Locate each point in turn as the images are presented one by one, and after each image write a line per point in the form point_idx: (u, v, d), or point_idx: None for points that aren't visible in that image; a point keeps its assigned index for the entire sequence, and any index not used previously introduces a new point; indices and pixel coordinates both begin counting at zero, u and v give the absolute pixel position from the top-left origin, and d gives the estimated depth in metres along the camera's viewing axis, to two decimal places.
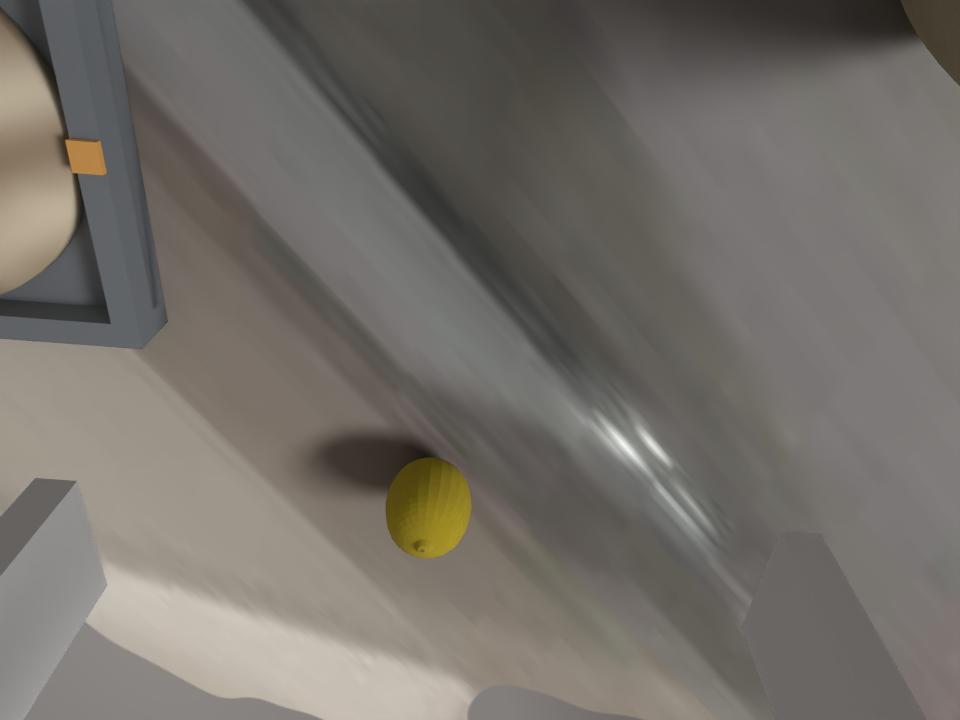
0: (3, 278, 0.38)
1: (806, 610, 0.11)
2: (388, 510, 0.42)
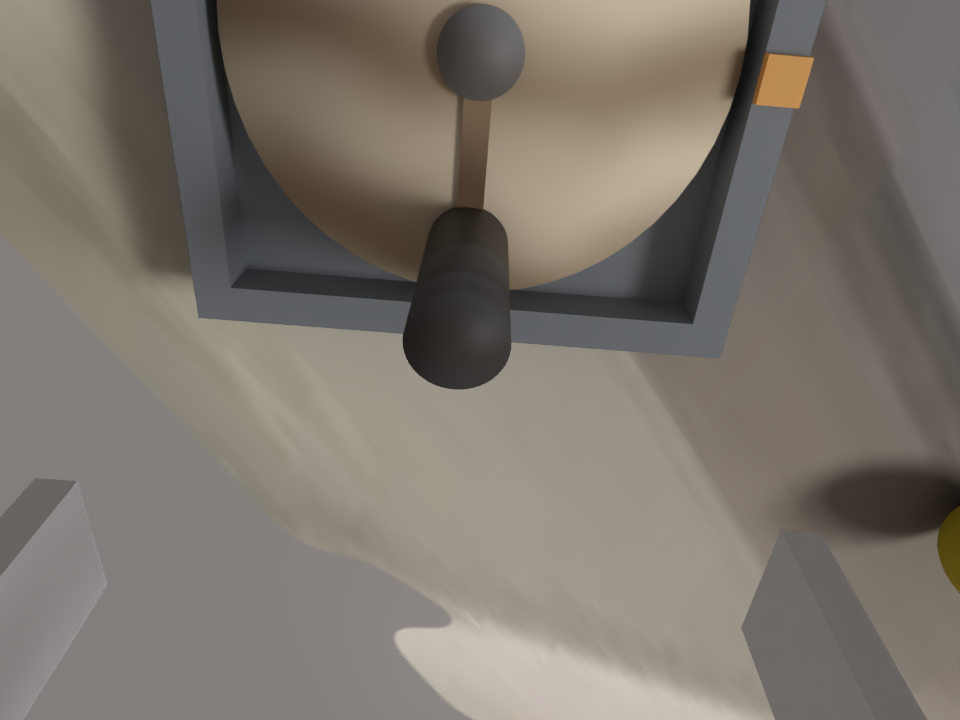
0: (562, 261, 0.27)
1: (806, 611, 0.11)
2: None
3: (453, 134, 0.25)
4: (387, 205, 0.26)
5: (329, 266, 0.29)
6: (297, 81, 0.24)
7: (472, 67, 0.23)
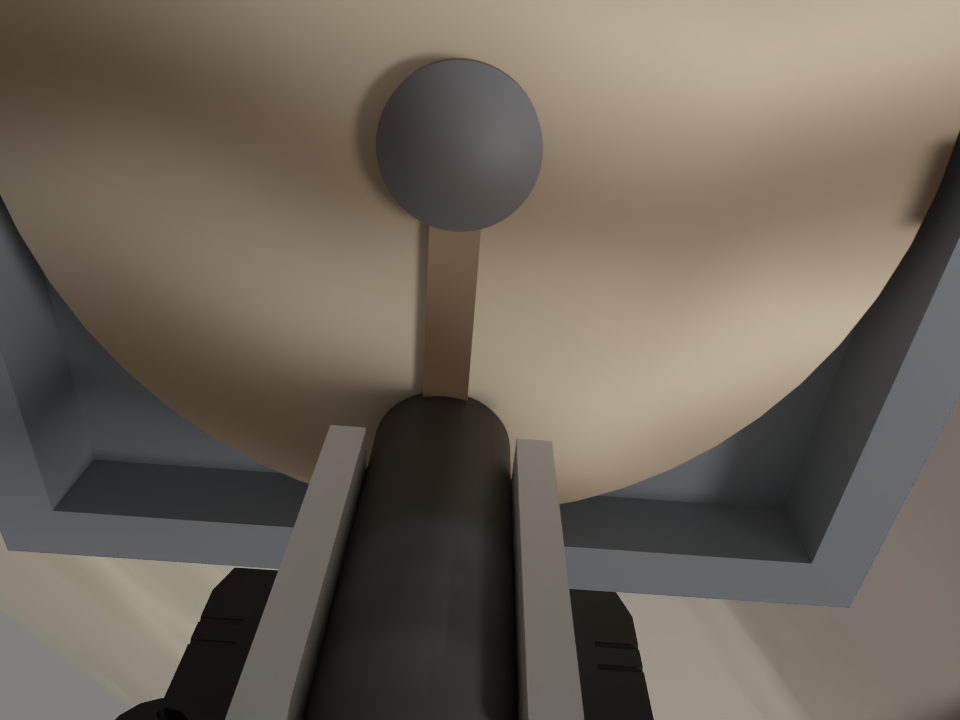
0: (599, 471, 0.16)
1: (516, 499, 0.13)
2: None
3: (413, 282, 0.14)
4: (303, 389, 0.15)
5: (225, 457, 0.18)
6: (125, 194, 0.13)
7: (443, 174, 0.12)
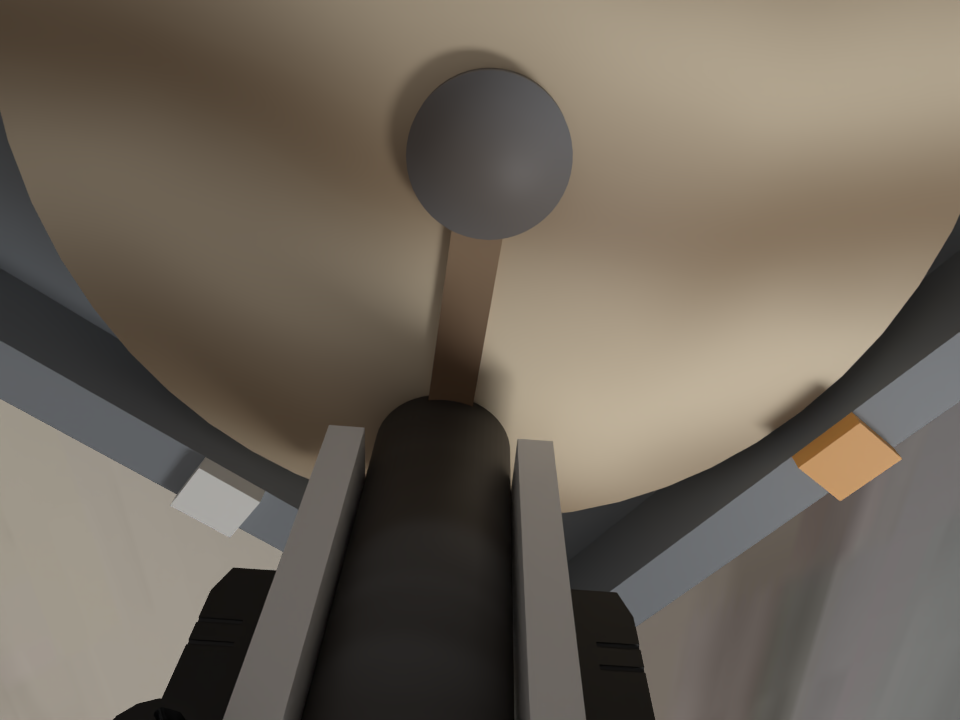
0: (596, 484, 0.16)
1: (517, 500, 0.13)
2: None
3: (429, 285, 0.14)
4: (309, 384, 0.15)
5: (50, 282, 0.16)
6: (147, 176, 0.13)
7: (471, 181, 0.12)
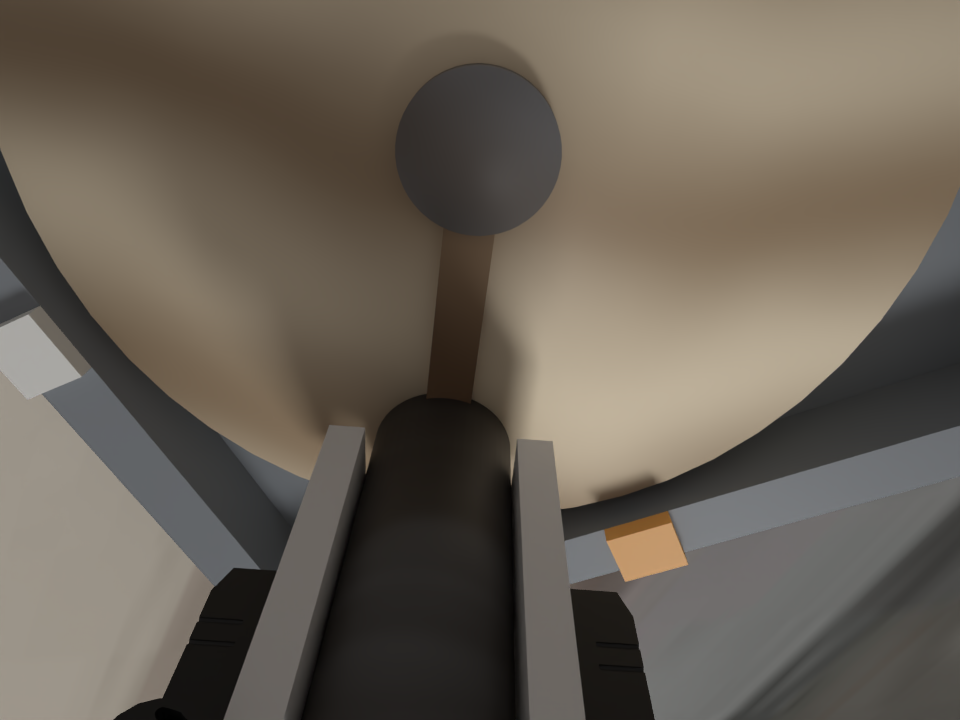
0: (597, 479, 0.16)
1: (517, 500, 0.13)
2: None
3: (423, 283, 0.14)
4: (307, 385, 0.15)
5: None
6: (139, 182, 0.13)
7: (461, 177, 0.12)
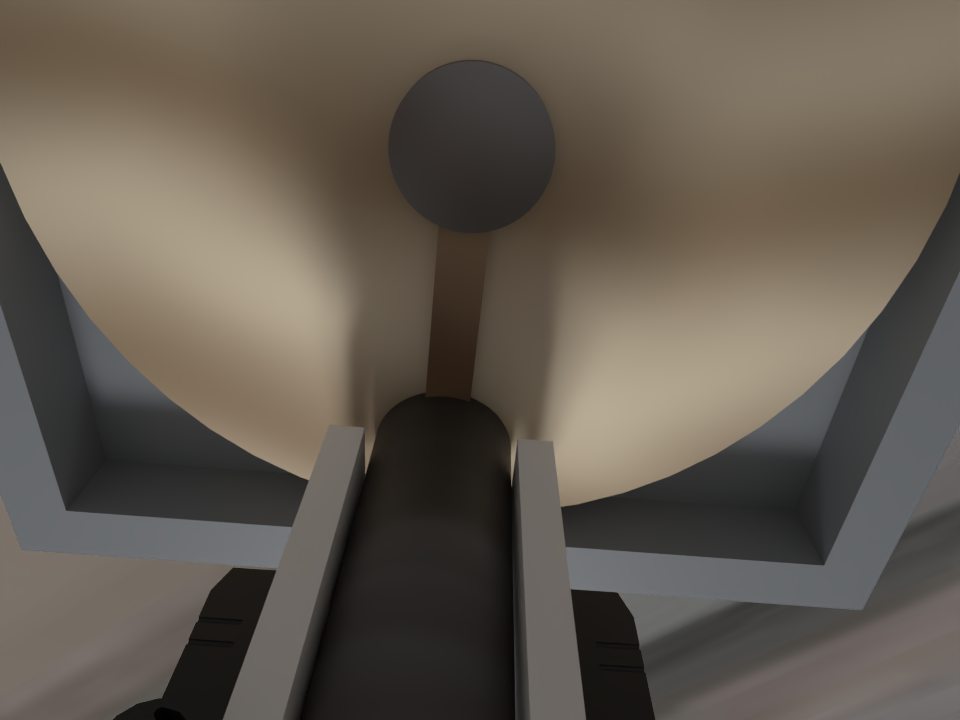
0: (599, 476, 0.16)
1: (517, 500, 0.13)
2: None
3: (420, 281, 0.14)
4: (306, 385, 0.15)
5: None
6: (135, 185, 0.13)
7: (455, 174, 0.12)
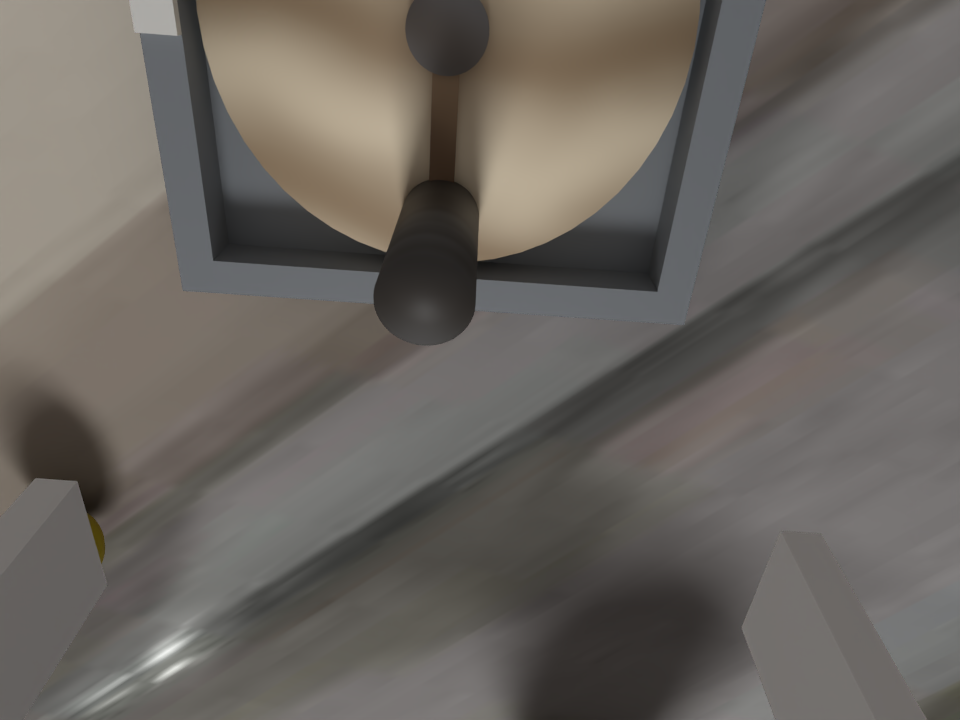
0: (530, 231, 0.28)
1: (806, 610, 0.11)
2: None
3: (423, 109, 0.26)
4: (362, 178, 0.27)
5: None
6: (273, 59, 0.25)
7: (439, 43, 0.24)
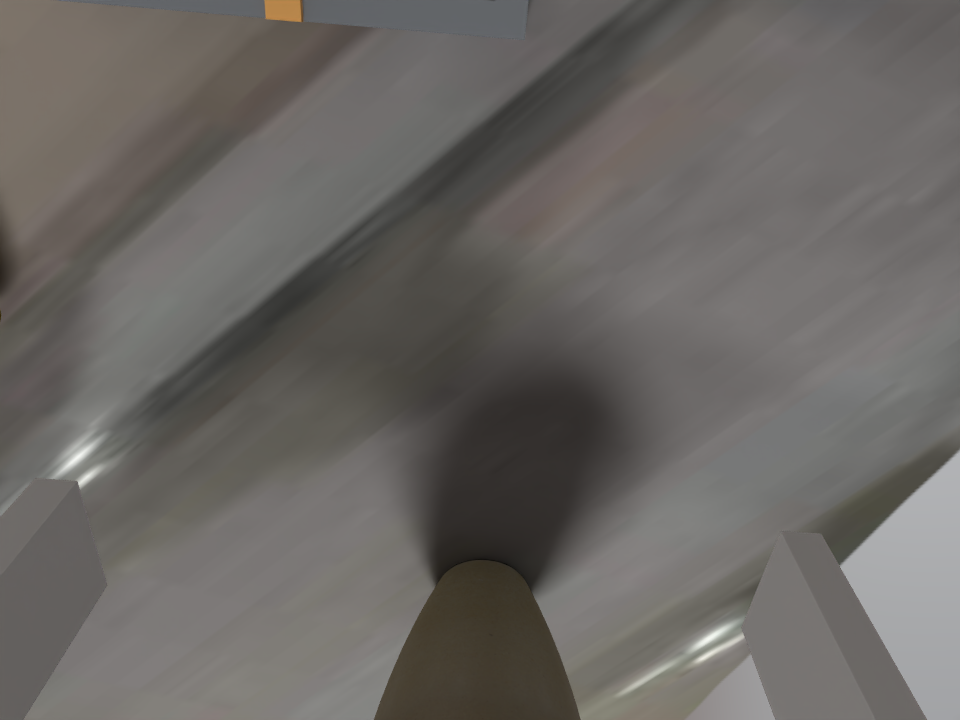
0: None
1: (805, 610, 0.11)
2: None
3: None
4: None
5: None
6: None
7: None
